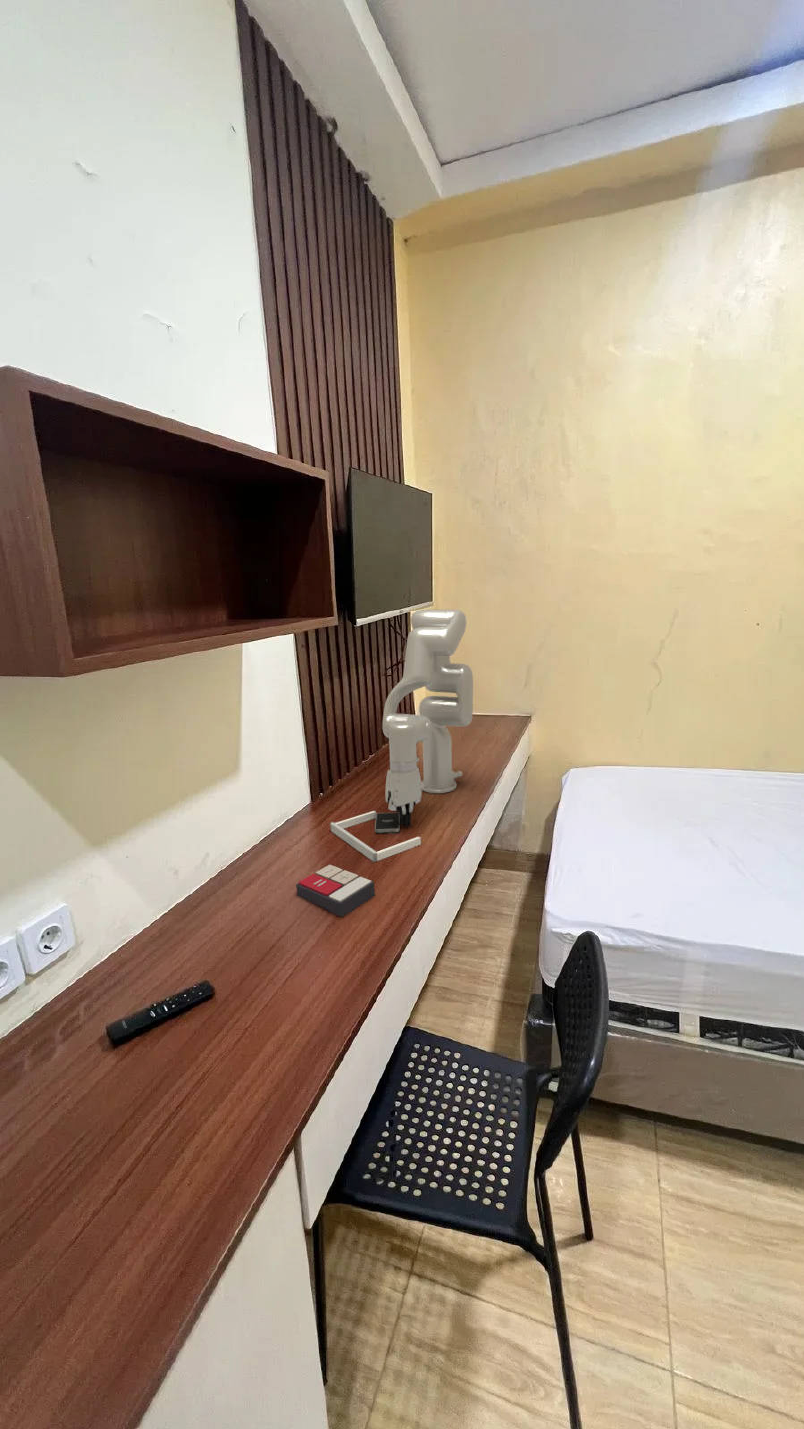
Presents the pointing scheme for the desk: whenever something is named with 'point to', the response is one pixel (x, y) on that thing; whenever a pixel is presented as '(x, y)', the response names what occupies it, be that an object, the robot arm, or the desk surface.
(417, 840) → the white u-shaped frame
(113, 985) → the desk surface
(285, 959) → the desk surface
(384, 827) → the external hard drive
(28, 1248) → the desk surface
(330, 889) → the button keypad
